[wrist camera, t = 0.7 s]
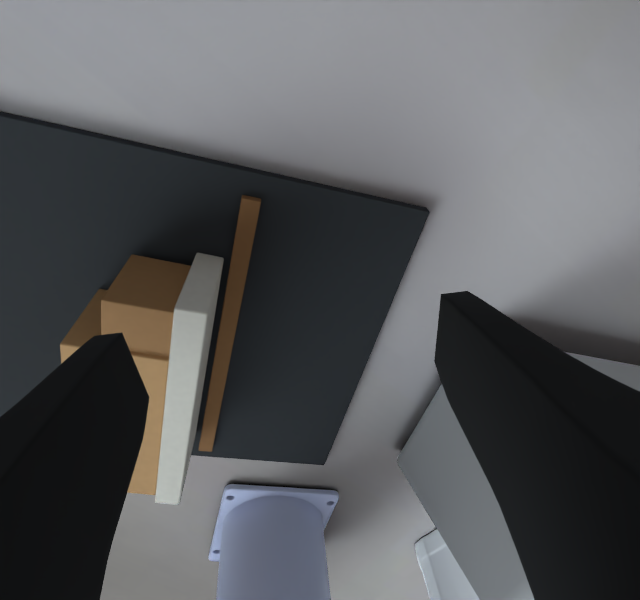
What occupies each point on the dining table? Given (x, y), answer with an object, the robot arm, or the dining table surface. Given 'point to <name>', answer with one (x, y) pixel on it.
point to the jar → (442, 570)
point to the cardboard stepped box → (160, 356)
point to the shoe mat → (181, 247)
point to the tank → (474, 493)
